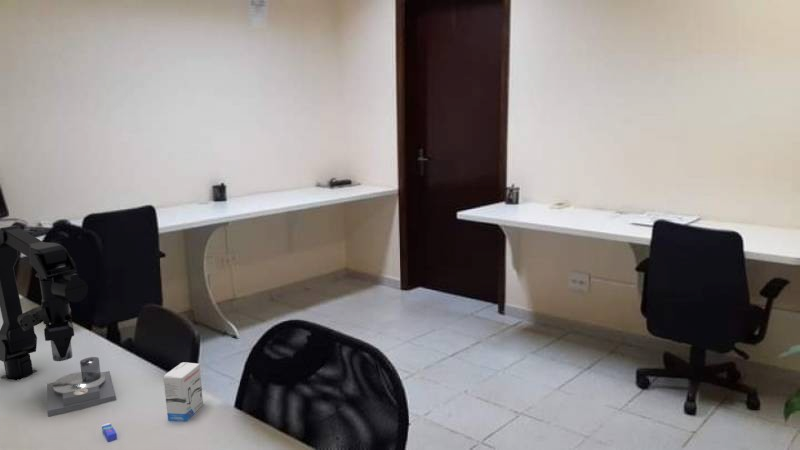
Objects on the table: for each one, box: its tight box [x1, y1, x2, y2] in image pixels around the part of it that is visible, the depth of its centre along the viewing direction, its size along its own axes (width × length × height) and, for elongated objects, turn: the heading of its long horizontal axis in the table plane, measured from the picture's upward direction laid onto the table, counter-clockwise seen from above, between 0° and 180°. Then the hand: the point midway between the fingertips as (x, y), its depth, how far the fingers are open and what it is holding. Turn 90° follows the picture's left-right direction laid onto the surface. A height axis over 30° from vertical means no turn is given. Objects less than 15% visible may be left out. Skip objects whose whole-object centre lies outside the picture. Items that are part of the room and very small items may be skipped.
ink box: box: [163, 361, 204, 423], centre depth 147 cm, size 9×5×12 cm, turn 168°
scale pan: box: [53, 371, 105, 394], centre depth 160 cm, size 12×12×1 cm
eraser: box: [101, 422, 118, 443], centre depth 139 cm, size 2×6×2 cm, turn 37°
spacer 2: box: [79, 356, 102, 382], centre depth 161 cm, size 4×4×5 cm
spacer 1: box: [50, 340, 73, 362], centre depth 157 cm, size 4×4×5 cm
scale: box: [46, 370, 117, 417], centre depth 159 cm, size 17×15×4 cm
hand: (62, 354), depth 157 cm, fingers closed on spacer 1, 4 cm apart
